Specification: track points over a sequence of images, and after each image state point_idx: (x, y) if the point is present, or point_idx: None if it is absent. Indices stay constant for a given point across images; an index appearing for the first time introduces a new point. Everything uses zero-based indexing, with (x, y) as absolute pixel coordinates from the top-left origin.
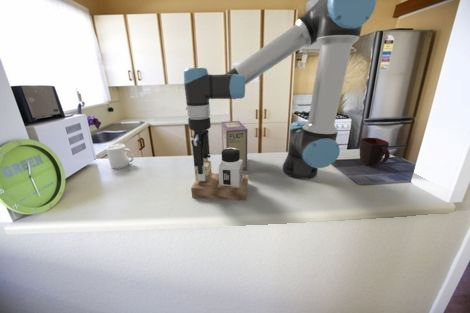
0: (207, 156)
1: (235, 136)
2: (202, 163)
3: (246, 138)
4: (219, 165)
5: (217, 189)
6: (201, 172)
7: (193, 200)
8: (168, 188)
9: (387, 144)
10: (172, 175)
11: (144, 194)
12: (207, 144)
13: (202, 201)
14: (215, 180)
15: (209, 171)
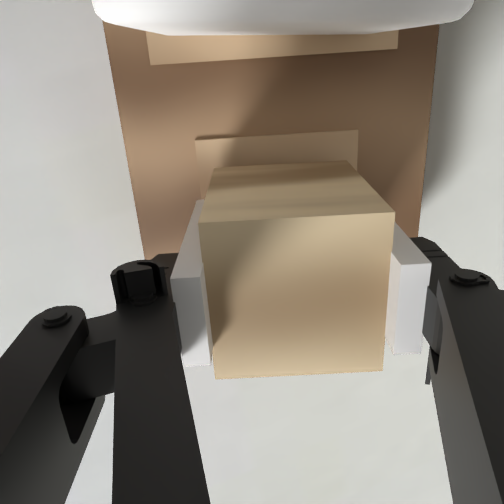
0: (169, 304)
1: None
2: (497, 290)
3: None
4: (406, 12)
5: (437, 34)
6: (439, 250)
7: (425, 219)
8: (298, 410)
9: None
10: None
11: (370, 486)
12: (2, 472)
13: (438, 153)
14: (269, 106)
15: (296, 184)
